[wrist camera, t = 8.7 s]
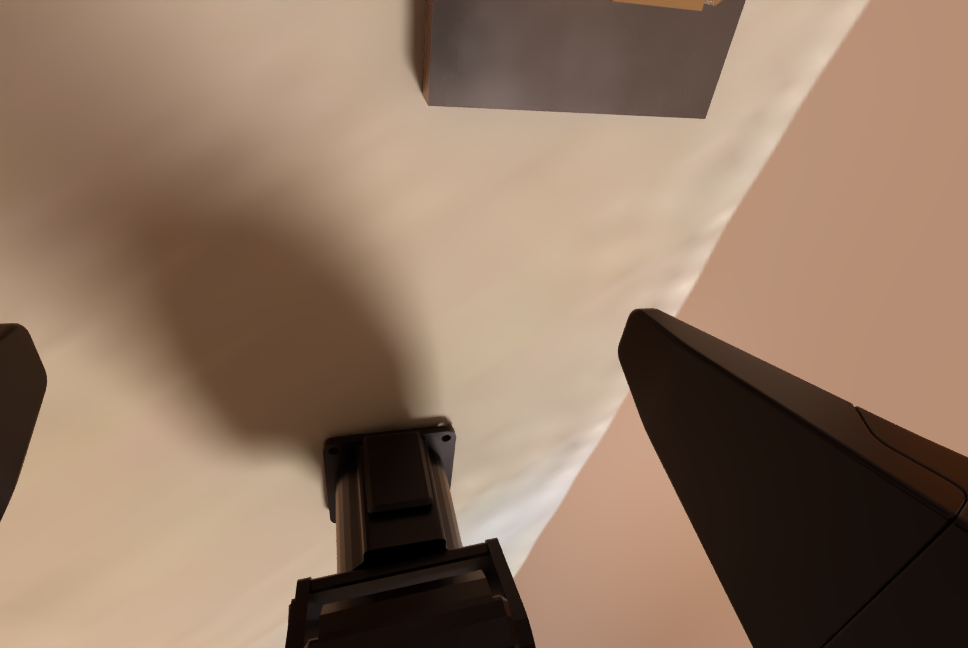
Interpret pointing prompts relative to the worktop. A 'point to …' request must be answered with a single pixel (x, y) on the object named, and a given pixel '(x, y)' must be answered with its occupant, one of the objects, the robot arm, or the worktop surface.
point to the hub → (674, 3)
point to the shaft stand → (576, 56)
